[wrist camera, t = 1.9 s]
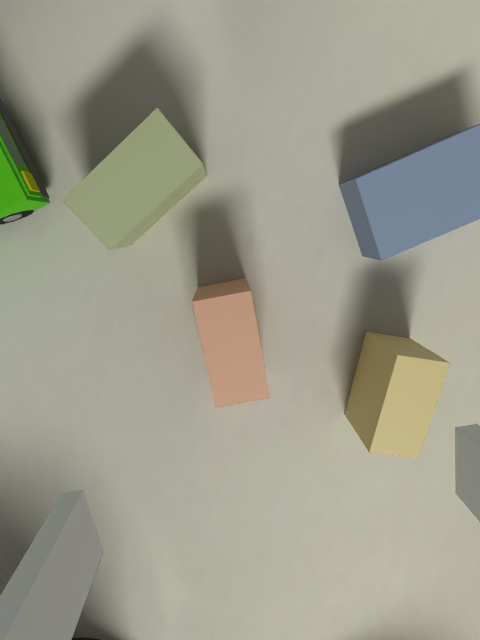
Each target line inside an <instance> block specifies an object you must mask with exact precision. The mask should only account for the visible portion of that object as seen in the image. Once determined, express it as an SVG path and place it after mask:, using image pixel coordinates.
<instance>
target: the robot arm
mask: <svg viewBox="0 0 480 640" xmlns="http://www.w3.org/2000/svg"><path fill="white" fill-rule="evenodd" d="M455 475H456V494H457V495H458V497H459V498H460V499H461V500H462V501H463V502H464V504H465V505H466V506H467V507H468V508H469V509H470V511H471V512H472V513H473V514H474V515H475V517H476V518H477V519H478V520H479V521H480V426H479V425H478V424H473V425H467V426H461V427H455ZM102 554H103V550H102V547H101V544H100V541H99V537H98V534H97V531H96V528H95V525H94V522H93V519H92V516H91V513H90V510H89V507H88V504H87V501H86V498H85V495H84V492H83V490H79V491H73V492H67V493H61V495H60V496H59V498H58V500H57V501H56V503H55V505H54V506H53V508H52V510H51V511H50V513H49V515H48V517H47V518H46V520H45V522H44V523H43V525H42V527H41V528H40V530H39V532H38V533H37V535H36V537H35V538H34V540H33V542H32V543H31V545H30V547H29V548H28V550H27V552H26V553H25V555H24V557H23V558H22V560H21V562H20V563H19V565H18V567H17V568H16V570H15V572H14V573H13V575H12V577H11V578H10V580H9V582H8V584H7V585H6V587H5V589H4V590H3V592H2V594H1V595H0V640H98V639H92V638H72V637H73V634H74V631H75V629H76V626H77V623H78V620H79V618H80V615H81V612H82V609H83V607H84V604H85V601H86V598H87V596H88V593H89V590H90V587H91V585H92V582H93V579H94V576H95V574H96V571H97V568H98V565H99V563H100V560H101V557H102Z"/></svg>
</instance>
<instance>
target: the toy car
mask: <svg viewBox="0 0 480 640" xmlns="http://www.w3.org/2000/svg"><path fill="white" fill-rule="evenodd" d="M49 203H50V201H49V196H48V194H47V192H46V190H45V188H44V186H43V183H42V181H41V179H40V177H39V175H38V173H37V171H36V169H35V167H34V165H33V163H32V161H31V159H30V157H29V155H28V153H27V151H26V149H25V147H24V145H23V143H22V141H21V139H20V137H19V135H18V133H17V131H16V129H15V127H14V125H13V123H12V121H11V119H10V117H9V115H8V113H7V110H6V108H5V106H4V104H3V102H2V100H1V98H0V224H5V223H9V222H13V221H16V220H19V219H21V218H24V217H26V216H28V215H30V214H32V213H33V212H34V210H36V209H38V208H40V207H42V206H45V205H47V204H49Z"/></svg>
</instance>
